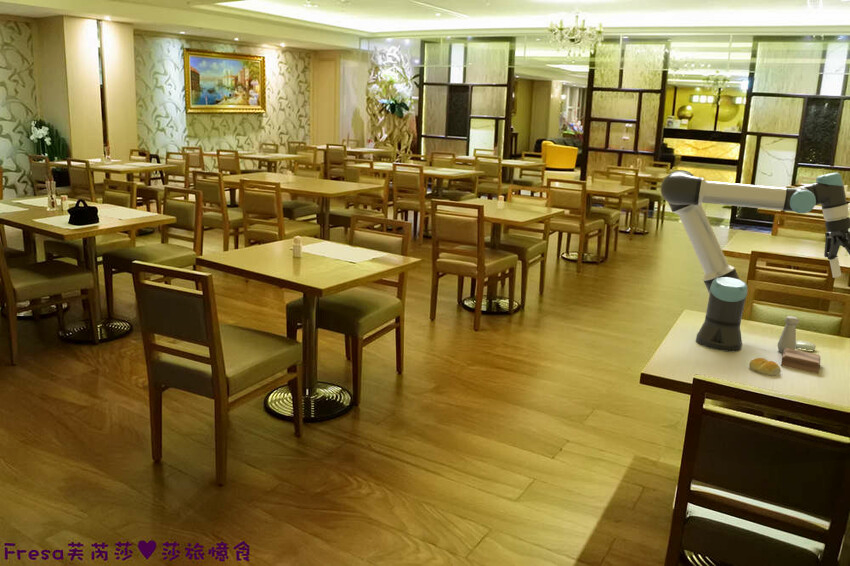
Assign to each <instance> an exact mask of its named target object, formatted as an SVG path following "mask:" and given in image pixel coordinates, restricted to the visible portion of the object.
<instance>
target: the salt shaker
mask: <svg viewBox="0 0 850 566" xmlns="http://www.w3.org/2000/svg"><path fill="white" fill-rule="evenodd" d="M784 322H785V325H784V327H783V330H782V333H781V335H780V336H779V339H778V341H777V349H778V352H779V353H781V354H783V353H784V349H786V348H789V349H794V350H797V348H796V340H797V337H796V336H797V332H796V331H797V328H796V327H797V326H798V325H799V323H800V319H799V318H798V317H796V316H791V315H788V316H785V318H784Z"/></svg>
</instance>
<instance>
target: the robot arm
mask: <svg viewBox="0 0 850 566" xmlns="http://www.w3.org/2000/svg"><path fill="white" fill-rule="evenodd" d="M815 180H816V181H815V182H814V183H811V184H806V185H801V186H796V187H791V188H790V187H779V186H768V185H757V184H755V185H754V184H745V183H734V182H723V181H712V180H706V179H705V177H702V176H701V177H700V176H695V175H694V174H693V173H691V172H690V171H688V170H683V169H681V170H675V171H672V172H670V173H669V174H668V175H666V176H665V177H664V179H663V180H662V181H661V183H660V194H661V197H662V199H664V200H665V201H666V202H667V203H668V205H669V207H670V210H671V212H672V214H675V215H677V216H678V217H679V218H680V221H681V223H682V226H683V228H684V230H685V233H686V235H687V236H688V240H689V241H690V244H691V246H692V248H693V250H694V252H695V255H696V257H697V259H698V261H699V263H700V266H701V267H702V270H703V273H704V276H703V278H702V280H703V282H704V286H705V287H706V290H707V292H708V294H709V296H708V301H707V306H706V312H705V317H704V321H703V323H702V324H701V327H700V328H699V331H698V332H697V333H696V337H695V342H696V343H698V344H699V345H700V346H703V347H706V348H708V349H711V350H712V349H713V350H715V351H716V350H717V351H722V352H739V351H741V350H742V346H743V339H742V333H741V325H742V318H743V313H744V310H745V309H744V307H745V305H746V304H745V303H746V300H747V296H748V284H747V283H746V282H745V281H743V280H741V278H740V276H739V275H738V272H737V270H736V268H735V266H732V265H730V264H729V262H728V261H727V258H726V256H725V254H724V252H723V250H722V247H721V245H720V243H719V241H718V239H717V237H716V234H715V231H714V229H713V228H712V225H711V223H710V221H709V219H708V216H707V215H706V211H705V210H704V208H703V205H702V204H710V205H711V204H713V205H720V206H721V205H723V206H734V207H741V208H742V207H743V208H746V207H747V208H754V209H762V210H763V209H765V210H774V211H775V210H776V211H783V212H793V213H796V214H807V213H809V212H811V211H813V209H814V208H815V206H818V205H821V211H822V215H823V219H824V220H825V221H824V224H825V230H826V232H825V233H824V235H825V242H824V244H825V245H824V252H823V254H824V255H823V256H824V258H827V260H829V265H830V270H831V275H832V279H833V278H834V279H835V278H839V277H842V271H841V266H840V262H839V261H840V260H839V257H838V253H839V249H840V247H842V248H844V249H845V250H846V252H847V253H848V254H849V256H850V231H849V229H850V217H849V215H850V211H849V205H848V201H847V195H846V190H845V184H844V181H843V178H842V175H841V174H840V173H839V172H832V173H831V172H830V173H826V174H822V175H818V176H817V177H816V178H815Z"/></svg>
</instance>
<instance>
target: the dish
mask: <svg viewBox="0 0 850 566" xmlns="http://www.w3.org/2000/svg"><path fill="white" fill-rule="evenodd" d="M816 346H817V345H816V344H815V343H813V342H809V341H805V340H800V339H799V340H797V339H796V347H797V348H801V349H806V350H814V349H815V350H816ZM797 348H796V349H797Z"/></svg>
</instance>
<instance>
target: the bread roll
mask: <svg viewBox="0 0 850 566" xmlns="http://www.w3.org/2000/svg"><path fill="white" fill-rule="evenodd" d="M749 369H750V370H751V371H753V372H754V373H759V374H761V375H763V376H768V377H769V376H771V377H773V376H778V375H780V374H781V372H782V370H781V367H780V366H779V365H778V363H776V362H775V361H773V360H767V359H765V358H761V357H755V358H753V359H752V360H750V362H749Z"/></svg>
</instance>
